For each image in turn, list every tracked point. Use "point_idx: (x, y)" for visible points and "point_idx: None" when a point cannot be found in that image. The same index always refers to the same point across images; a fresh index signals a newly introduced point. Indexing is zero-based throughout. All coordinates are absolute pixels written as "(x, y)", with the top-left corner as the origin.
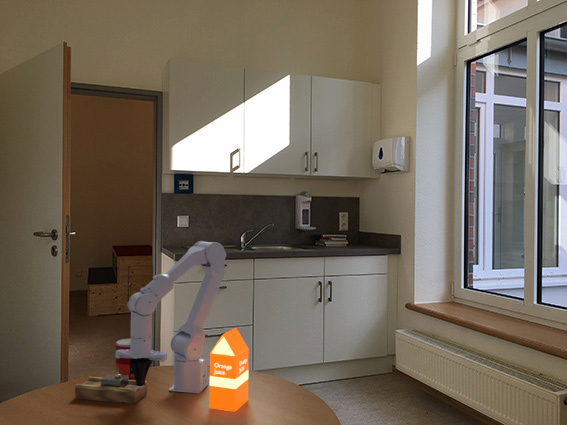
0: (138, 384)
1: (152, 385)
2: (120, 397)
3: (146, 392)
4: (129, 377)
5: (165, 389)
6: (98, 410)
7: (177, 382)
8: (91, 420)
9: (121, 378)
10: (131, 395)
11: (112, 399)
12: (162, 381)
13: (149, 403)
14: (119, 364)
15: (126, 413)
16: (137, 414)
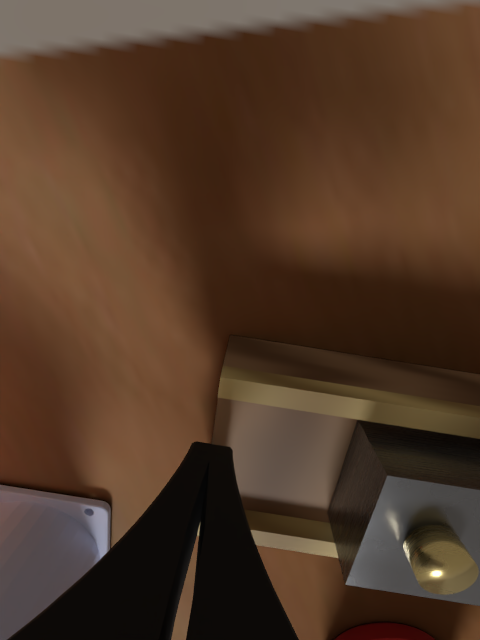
0: (214, 451)
1: None
2: (333, 364)
3: None
4: (370, 636)
5: None
6: (438, 213)
7: (34, 549)
8: (450, 3)
9: (391, 523)
10: (252, 360)
11: (385, 364)
12: None
13: (144, 345)
14: None
15: (226, 174)
16: (145, 162)
